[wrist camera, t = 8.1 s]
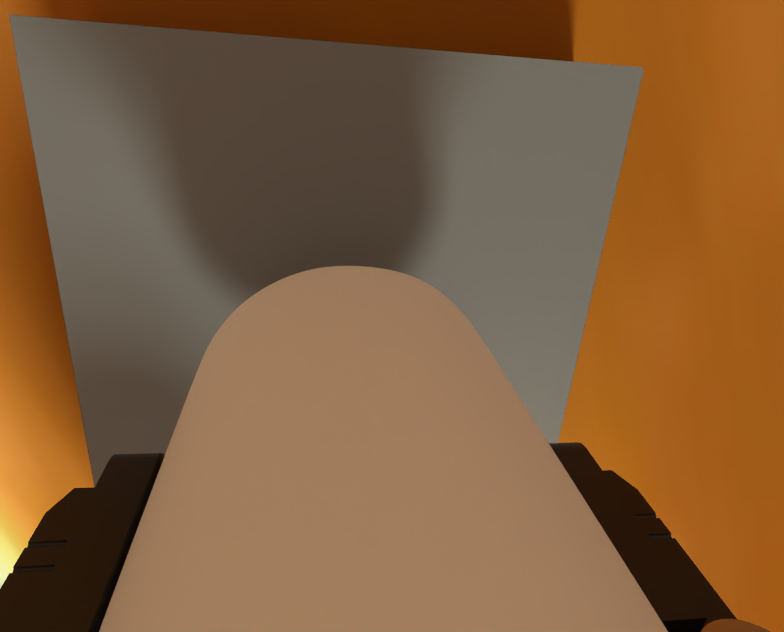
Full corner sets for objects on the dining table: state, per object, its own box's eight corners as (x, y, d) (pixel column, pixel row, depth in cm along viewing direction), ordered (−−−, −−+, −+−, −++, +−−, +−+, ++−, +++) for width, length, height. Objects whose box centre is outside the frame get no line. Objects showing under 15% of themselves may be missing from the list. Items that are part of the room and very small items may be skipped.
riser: (574, 66, 17) (644, 67, 13) (504, 444, 23) (540, 516, 19) (82, 26, 15) (8, 14, 11) (140, 451, 21) (103, 534, 17)
